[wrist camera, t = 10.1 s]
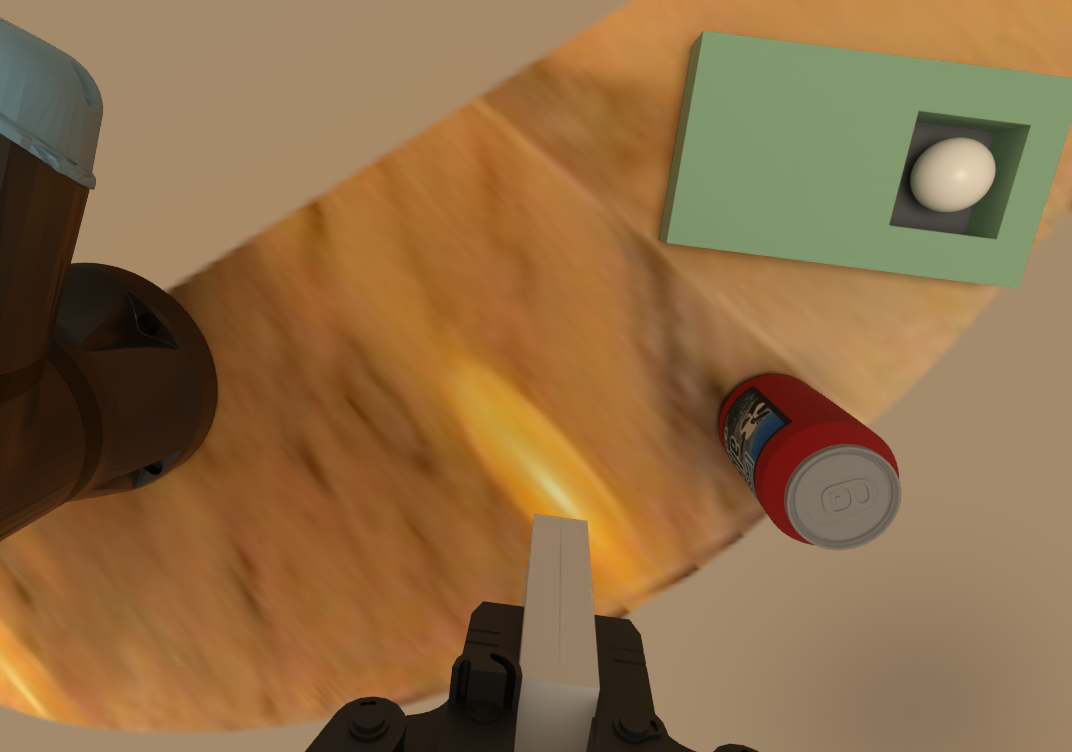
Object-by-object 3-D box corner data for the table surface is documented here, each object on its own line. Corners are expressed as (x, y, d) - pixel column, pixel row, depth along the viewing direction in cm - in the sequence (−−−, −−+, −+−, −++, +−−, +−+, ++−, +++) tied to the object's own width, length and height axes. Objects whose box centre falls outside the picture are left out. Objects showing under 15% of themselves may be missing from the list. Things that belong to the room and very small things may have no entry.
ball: (896, 209, 39) (908, 206, 35) (915, 139, 38) (929, 128, 34) (972, 218, 38) (991, 215, 34) (993, 146, 37) (1016, 136, 33)
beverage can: (703, 388, 42) (756, 456, 30) (806, 356, 41) (902, 414, 30) (729, 480, 44) (790, 578, 32) (830, 451, 43) (929, 541, 31)
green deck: (658, 240, 40) (666, 243, 37) (691, 45, 37) (703, 30, 34) (982, 282, 40) (1018, 288, 36) (1040, 90, 37) (1084, 79, 34)
